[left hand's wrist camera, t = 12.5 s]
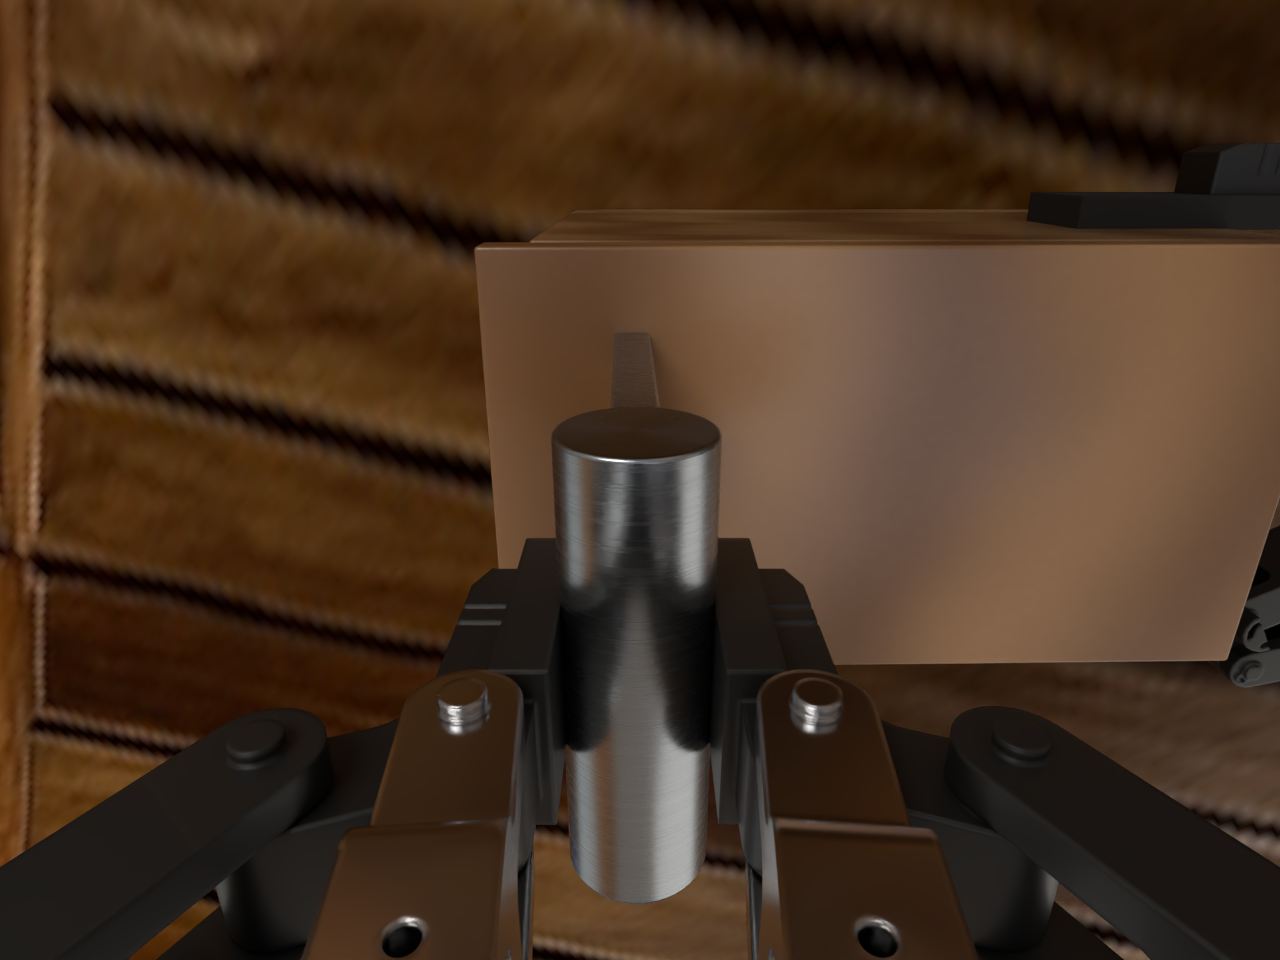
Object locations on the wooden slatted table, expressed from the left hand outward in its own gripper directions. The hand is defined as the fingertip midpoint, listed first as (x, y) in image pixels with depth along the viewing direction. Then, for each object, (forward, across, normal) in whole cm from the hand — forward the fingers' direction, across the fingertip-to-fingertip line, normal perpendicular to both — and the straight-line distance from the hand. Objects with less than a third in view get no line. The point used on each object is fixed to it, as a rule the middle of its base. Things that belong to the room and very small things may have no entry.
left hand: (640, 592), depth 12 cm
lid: (+6, +5, 0) cm, 8 cm away
